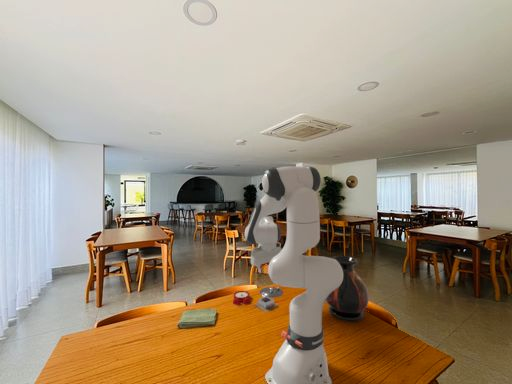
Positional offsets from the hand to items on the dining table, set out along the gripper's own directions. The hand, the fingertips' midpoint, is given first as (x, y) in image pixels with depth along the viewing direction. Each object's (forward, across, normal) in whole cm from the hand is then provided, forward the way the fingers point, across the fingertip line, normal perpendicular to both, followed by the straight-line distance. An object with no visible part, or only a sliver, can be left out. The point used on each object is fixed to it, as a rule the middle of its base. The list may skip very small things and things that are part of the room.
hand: (266, 270), depth 117 cm
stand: (+20, -1, 0) cm, 20 cm away
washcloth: (+21, -34, +14) cm, 42 cm away
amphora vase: (+21, +26, -31) cm, 45 cm away
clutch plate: (+19, -1, 0) cm, 19 cm away
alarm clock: (+21, -7, +14) cm, 26 cm away
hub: (+21, +13, +11) cm, 27 cm away
